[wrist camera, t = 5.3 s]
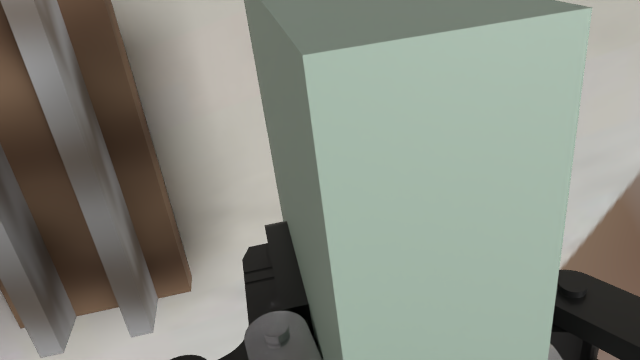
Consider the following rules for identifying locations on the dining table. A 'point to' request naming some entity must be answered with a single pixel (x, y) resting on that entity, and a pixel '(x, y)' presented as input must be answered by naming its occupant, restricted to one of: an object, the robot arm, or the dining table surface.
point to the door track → (78, 176)
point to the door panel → (424, 167)
